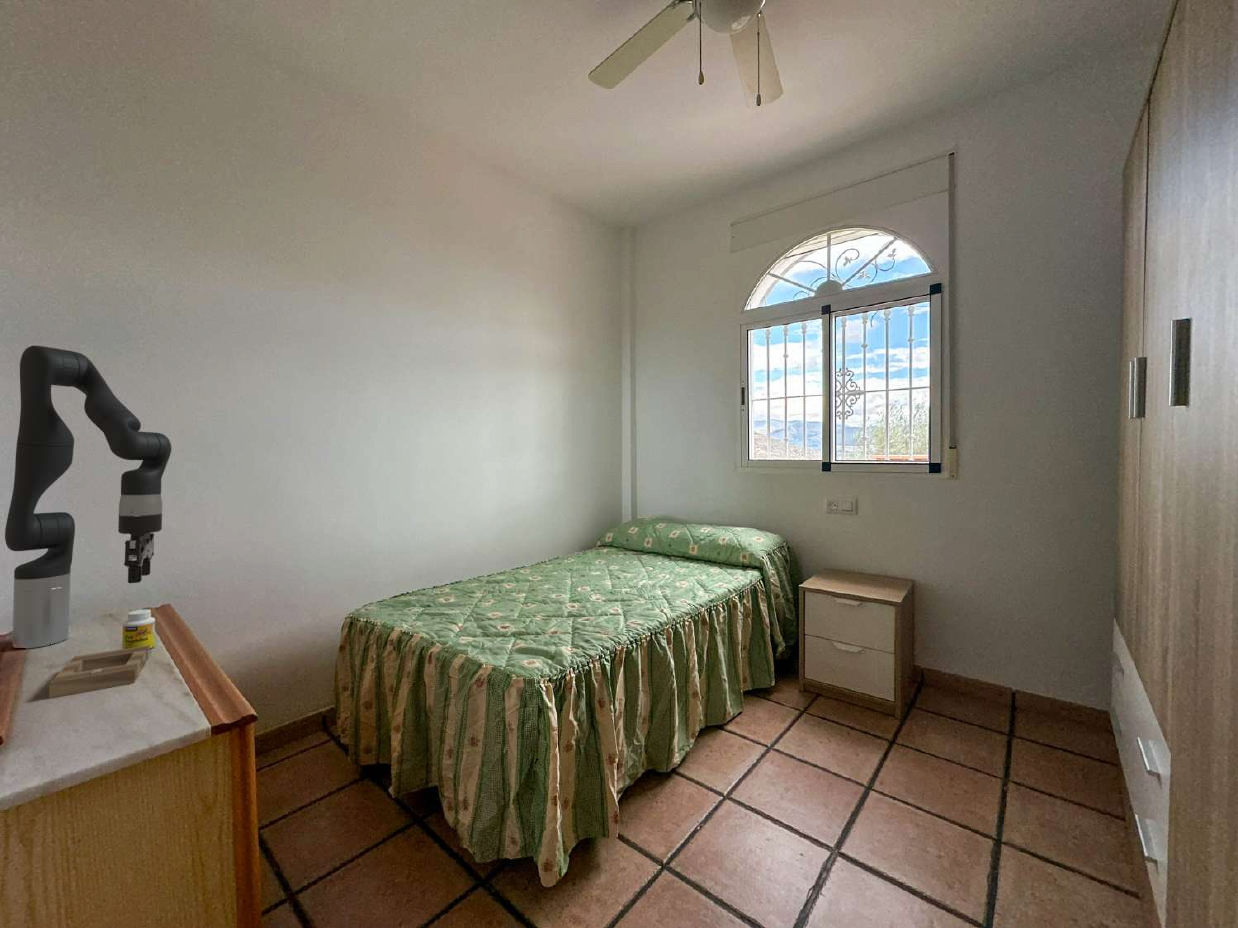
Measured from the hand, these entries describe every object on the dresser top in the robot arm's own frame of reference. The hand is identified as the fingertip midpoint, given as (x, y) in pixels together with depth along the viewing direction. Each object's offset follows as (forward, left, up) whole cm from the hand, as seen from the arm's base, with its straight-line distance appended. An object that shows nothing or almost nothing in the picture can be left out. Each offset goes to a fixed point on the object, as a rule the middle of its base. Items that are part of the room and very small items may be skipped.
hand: (139, 578), depth 116 cm
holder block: (+13, -3, -18) cm, 23 cm away
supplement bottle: (0, 0, -19) cm, 19 cm away
